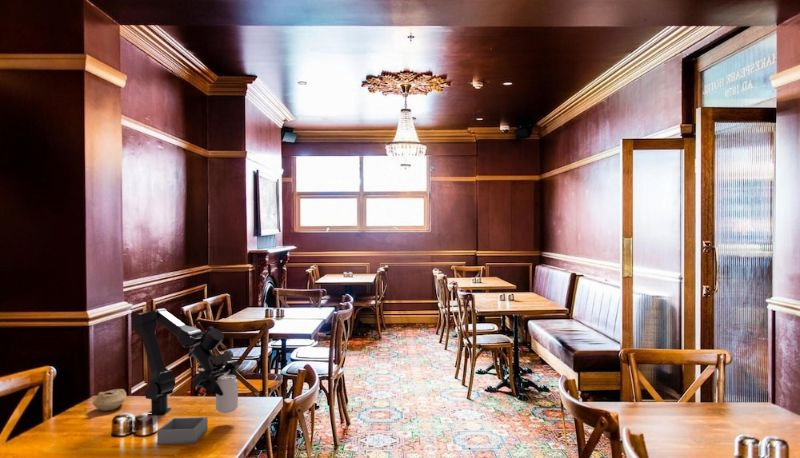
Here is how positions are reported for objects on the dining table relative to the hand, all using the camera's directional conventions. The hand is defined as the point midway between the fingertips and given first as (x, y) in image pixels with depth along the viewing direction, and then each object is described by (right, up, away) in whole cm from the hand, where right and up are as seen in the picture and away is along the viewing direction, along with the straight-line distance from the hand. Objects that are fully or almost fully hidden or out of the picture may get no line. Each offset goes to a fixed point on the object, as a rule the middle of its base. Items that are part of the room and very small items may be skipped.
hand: (229, 391), depth 185 cm
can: (-1, -7, 0) cm, 7 cm away
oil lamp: (-54, -13, +20) cm, 59 cm away
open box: (-12, -11, -12) cm, 20 cm away
